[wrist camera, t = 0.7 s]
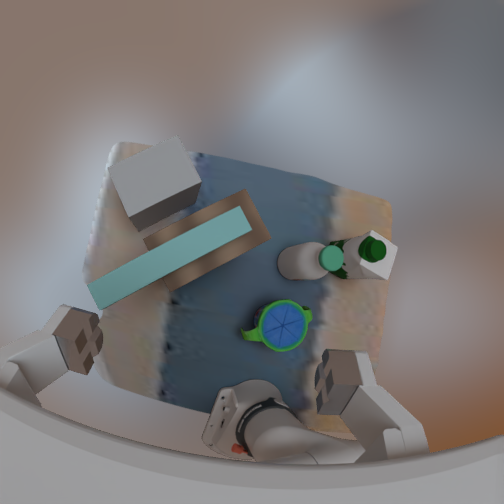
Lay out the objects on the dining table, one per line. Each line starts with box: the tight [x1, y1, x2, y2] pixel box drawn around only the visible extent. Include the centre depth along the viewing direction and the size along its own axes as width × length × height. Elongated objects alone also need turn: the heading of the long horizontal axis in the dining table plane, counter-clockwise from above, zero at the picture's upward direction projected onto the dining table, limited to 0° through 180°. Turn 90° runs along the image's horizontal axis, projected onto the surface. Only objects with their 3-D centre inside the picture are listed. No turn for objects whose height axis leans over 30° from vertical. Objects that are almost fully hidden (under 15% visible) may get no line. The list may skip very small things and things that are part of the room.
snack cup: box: [241, 299, 312, 352], centre depth 65 cm, size 16×10×10 cm
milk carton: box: [329, 230, 398, 280], centre depth 66 cm, size 9×9×20 cm
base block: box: [108, 135, 202, 231], centre depth 58 cm, size 14×10×16 cm
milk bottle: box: [277, 242, 344, 280], centre depth 63 cm, size 8×8×20 cm
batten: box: [87, 206, 252, 310], centre depth 39 cm, size 22×4×4 cm, turn 119°
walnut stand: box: [143, 189, 271, 292], centre depth 55 cm, size 16×8×26 cm, turn 119°
